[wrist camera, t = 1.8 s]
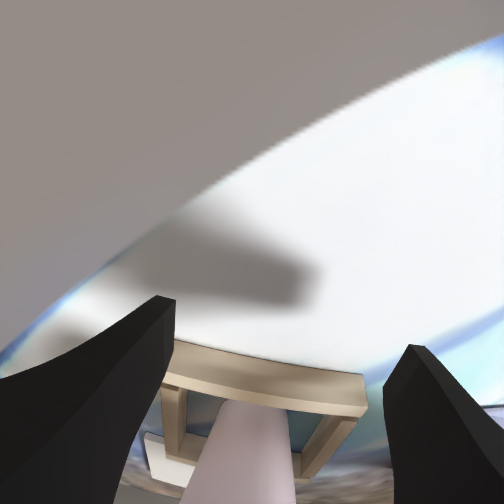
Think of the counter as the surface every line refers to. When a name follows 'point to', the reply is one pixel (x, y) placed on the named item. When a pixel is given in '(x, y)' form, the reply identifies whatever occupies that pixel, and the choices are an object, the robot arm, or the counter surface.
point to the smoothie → (244, 458)
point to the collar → (260, 400)
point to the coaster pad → (165, 463)
